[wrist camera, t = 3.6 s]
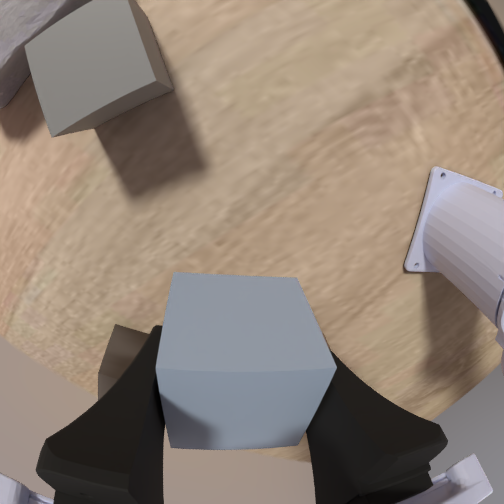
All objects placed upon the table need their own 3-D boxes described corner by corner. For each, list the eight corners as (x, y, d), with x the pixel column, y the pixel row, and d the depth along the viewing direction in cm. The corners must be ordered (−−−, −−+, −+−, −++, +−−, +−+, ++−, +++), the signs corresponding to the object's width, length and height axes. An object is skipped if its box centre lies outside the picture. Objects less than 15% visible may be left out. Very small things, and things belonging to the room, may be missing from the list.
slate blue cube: (297, 277, 12) (337, 367, 8) (276, 361, 14) (297, 445, 10) (173, 271, 11) (155, 367, 7) (177, 359, 14) (170, 447, 9)
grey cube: (147, 16, 11) (122, -15, 7) (174, 90, 14) (156, 80, 9) (70, 57, 12) (24, 45, 7) (94, 128, 14) (51, 137, 9)
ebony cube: (179, 341, 21) (174, 393, 17) (166, 380, 23) (162, 428, 19) (115, 323, 20) (98, 373, 15) (111, 364, 22) (98, 411, 17)
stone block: (-27, 53, 10) (7, 124, 12) (-65, 44, 5) (-45, 122, 8) (80, -60, 8) (142, -17, 10) (54, -89, 4) (114, -60, 6)
